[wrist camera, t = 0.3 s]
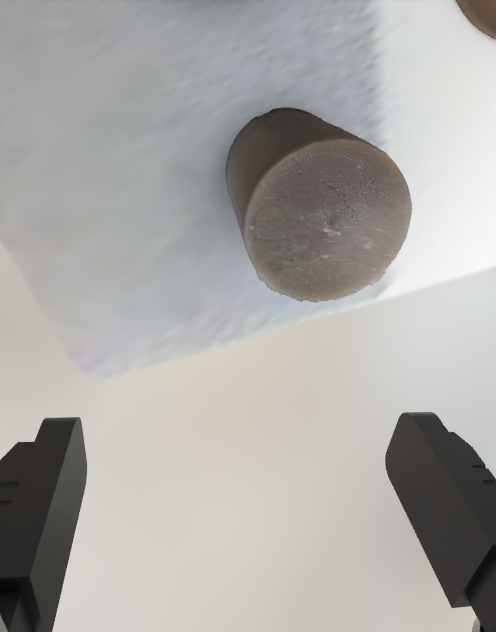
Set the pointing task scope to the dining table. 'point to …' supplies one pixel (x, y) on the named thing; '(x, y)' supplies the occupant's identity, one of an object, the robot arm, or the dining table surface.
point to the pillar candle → (315, 205)
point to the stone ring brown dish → (481, 14)
